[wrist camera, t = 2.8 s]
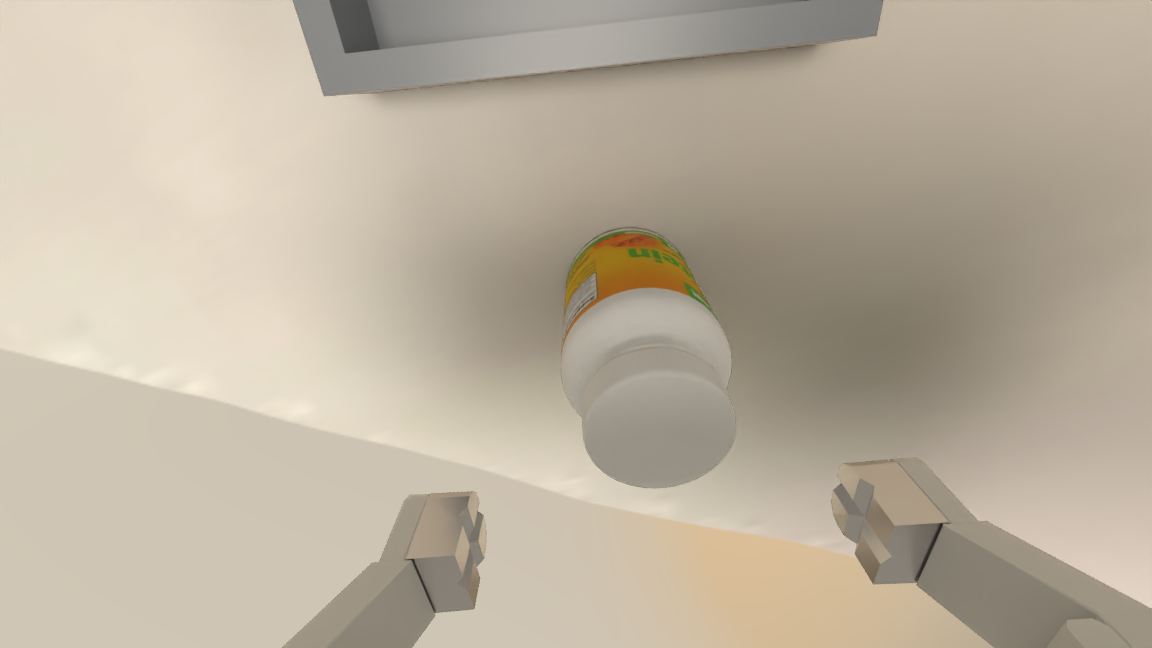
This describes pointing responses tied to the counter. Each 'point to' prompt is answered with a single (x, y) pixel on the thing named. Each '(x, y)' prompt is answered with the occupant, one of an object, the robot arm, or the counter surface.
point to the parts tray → (550, 35)
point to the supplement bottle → (645, 362)
